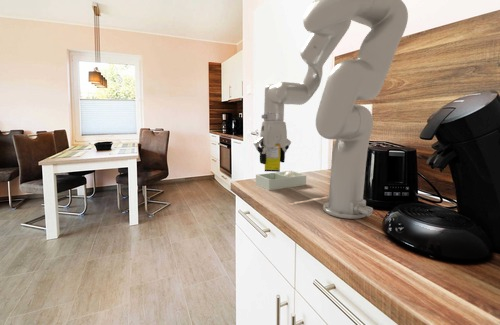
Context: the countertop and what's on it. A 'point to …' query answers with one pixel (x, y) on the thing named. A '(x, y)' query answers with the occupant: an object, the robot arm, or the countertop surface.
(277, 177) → the tray
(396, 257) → the countertop surface
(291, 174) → the egg
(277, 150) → the supplement box
